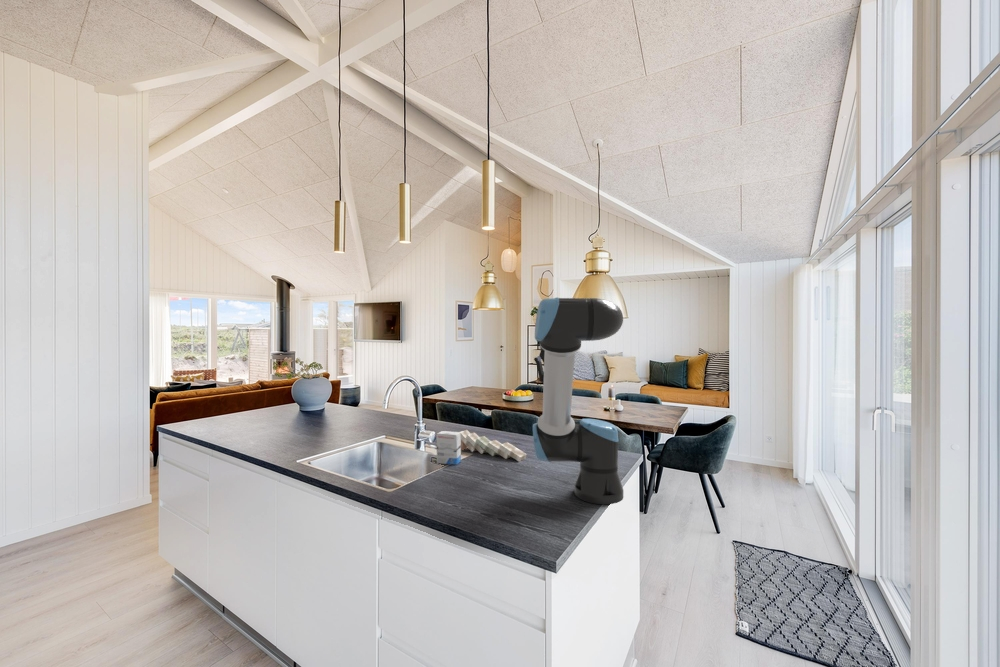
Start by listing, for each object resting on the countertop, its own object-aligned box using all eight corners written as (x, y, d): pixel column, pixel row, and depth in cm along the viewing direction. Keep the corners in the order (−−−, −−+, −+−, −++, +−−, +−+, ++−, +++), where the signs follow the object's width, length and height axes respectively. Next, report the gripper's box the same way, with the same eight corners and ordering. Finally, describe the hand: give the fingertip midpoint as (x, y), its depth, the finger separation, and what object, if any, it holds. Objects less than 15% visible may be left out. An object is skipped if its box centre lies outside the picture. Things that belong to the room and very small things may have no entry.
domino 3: (494, 452, 169) (477, 438, 174) (492, 456, 170) (475, 442, 174) (501, 449, 174) (483, 435, 178) (499, 453, 174) (482, 439, 179)
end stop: (462, 450, 178) (462, 441, 178) (456, 449, 179) (456, 440, 179) (469, 447, 182) (469, 438, 182) (464, 446, 184) (464, 437, 184)
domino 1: (474, 449, 174) (459, 431, 179) (472, 452, 175) (457, 435, 179) (481, 446, 179) (466, 429, 183) (479, 449, 179) (464, 432, 184)
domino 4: (507, 454, 166) (488, 442, 171) (506, 459, 166) (487, 446, 171) (514, 451, 170) (495, 439, 175) (512, 456, 170) (493, 443, 175)
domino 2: (483, 450, 172) (467, 434, 176) (481, 454, 173) (465, 438, 177) (490, 447, 176) (474, 432, 181) (488, 451, 177) (472, 435, 181)
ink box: (461, 461, 163) (461, 431, 163) (456, 465, 158) (456, 435, 158) (441, 459, 166) (441, 430, 166) (435, 463, 161) (436, 433, 161)
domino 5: (520, 457, 163) (500, 444, 168) (519, 461, 163) (499, 449, 168) (526, 454, 167) (507, 441, 172) (525, 458, 167) (505, 446, 172)
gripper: (569, 340, 162) (568, 400, 162) (539, 339, 169) (538, 397, 169) (561, 341, 156) (561, 403, 156) (530, 340, 163) (530, 400, 163)
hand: (549, 400), depth 163 cm, fingers closed
